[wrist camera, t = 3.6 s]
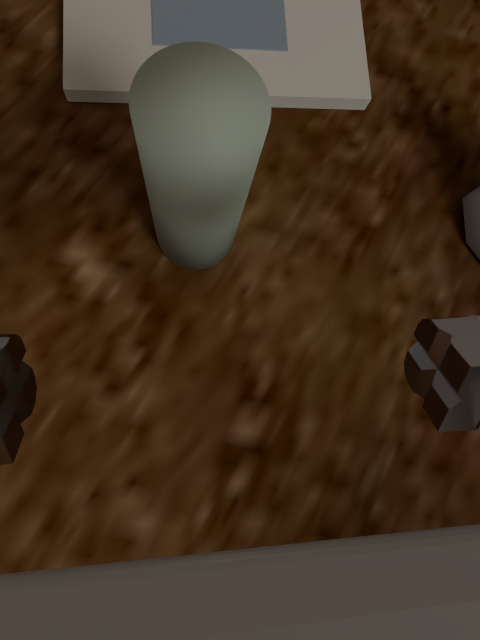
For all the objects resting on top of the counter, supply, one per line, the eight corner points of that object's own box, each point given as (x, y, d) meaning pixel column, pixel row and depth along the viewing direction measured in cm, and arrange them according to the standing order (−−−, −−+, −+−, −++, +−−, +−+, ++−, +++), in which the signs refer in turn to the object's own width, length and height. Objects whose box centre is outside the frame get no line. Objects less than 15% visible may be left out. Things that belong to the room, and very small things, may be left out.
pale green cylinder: (157, 270, 23) (130, 170, 12) (155, 196, 24) (127, 38, 13) (235, 268, 24) (275, 171, 13) (231, 196, 24) (266, 44, 13)
